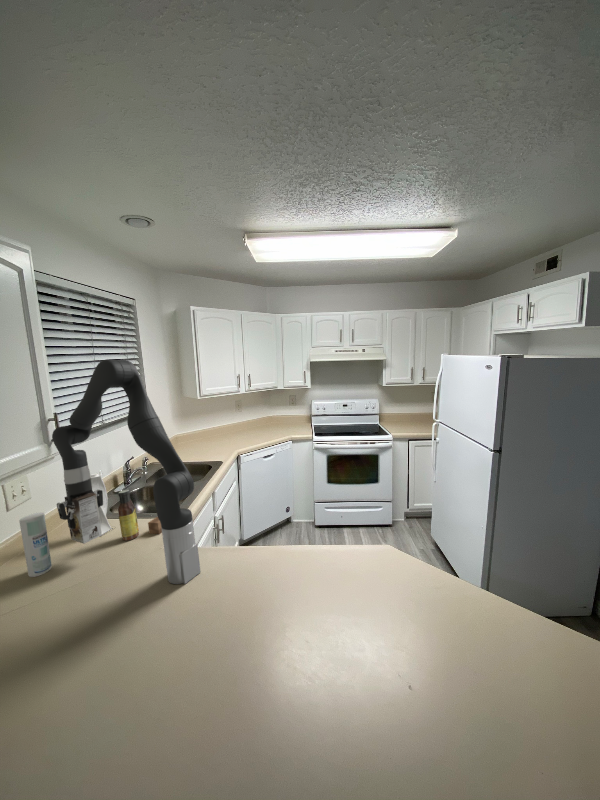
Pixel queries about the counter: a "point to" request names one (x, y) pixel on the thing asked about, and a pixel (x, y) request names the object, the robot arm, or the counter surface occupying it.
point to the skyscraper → (99, 485)
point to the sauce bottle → (127, 516)
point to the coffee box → (85, 518)
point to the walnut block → (155, 526)
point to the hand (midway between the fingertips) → (84, 523)
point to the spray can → (35, 544)
